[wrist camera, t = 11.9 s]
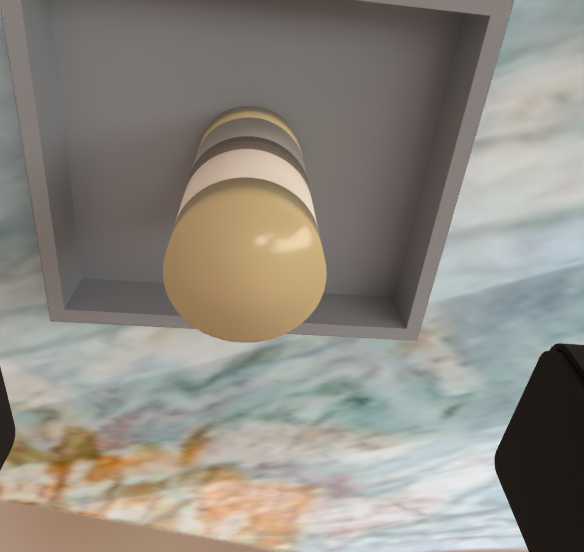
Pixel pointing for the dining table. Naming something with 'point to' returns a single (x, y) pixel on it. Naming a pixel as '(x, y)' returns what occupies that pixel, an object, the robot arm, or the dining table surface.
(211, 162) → the fuse
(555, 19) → the dining table surface
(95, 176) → the tray
